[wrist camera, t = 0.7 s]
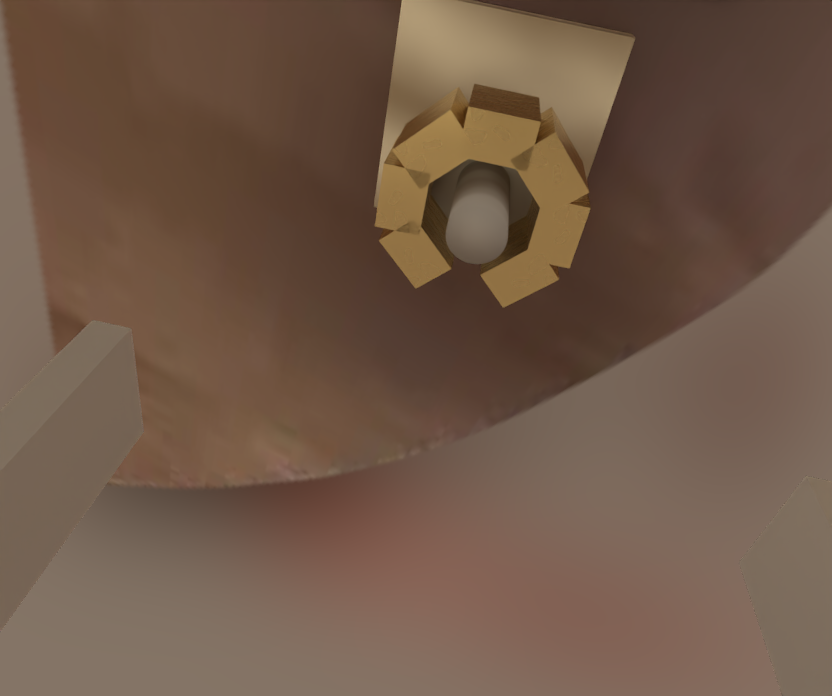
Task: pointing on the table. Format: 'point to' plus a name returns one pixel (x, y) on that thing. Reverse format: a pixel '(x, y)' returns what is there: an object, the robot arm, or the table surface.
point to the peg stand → (508, 70)
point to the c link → (496, 144)
